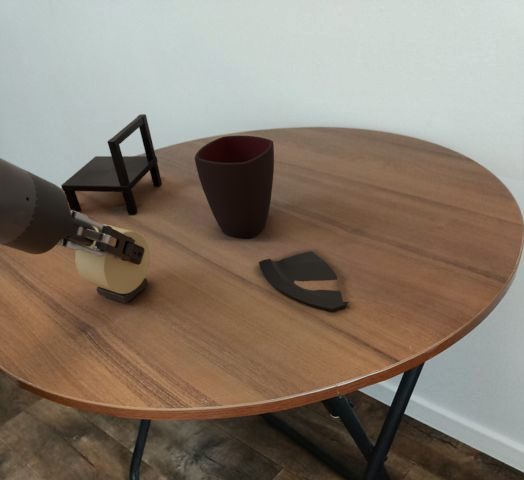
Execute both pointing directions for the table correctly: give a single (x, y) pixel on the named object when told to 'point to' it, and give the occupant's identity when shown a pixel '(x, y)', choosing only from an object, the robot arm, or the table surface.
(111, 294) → the short beige cylinder
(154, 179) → the chair
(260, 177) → the cup
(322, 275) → the fan shaped piece
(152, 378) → the table surface
